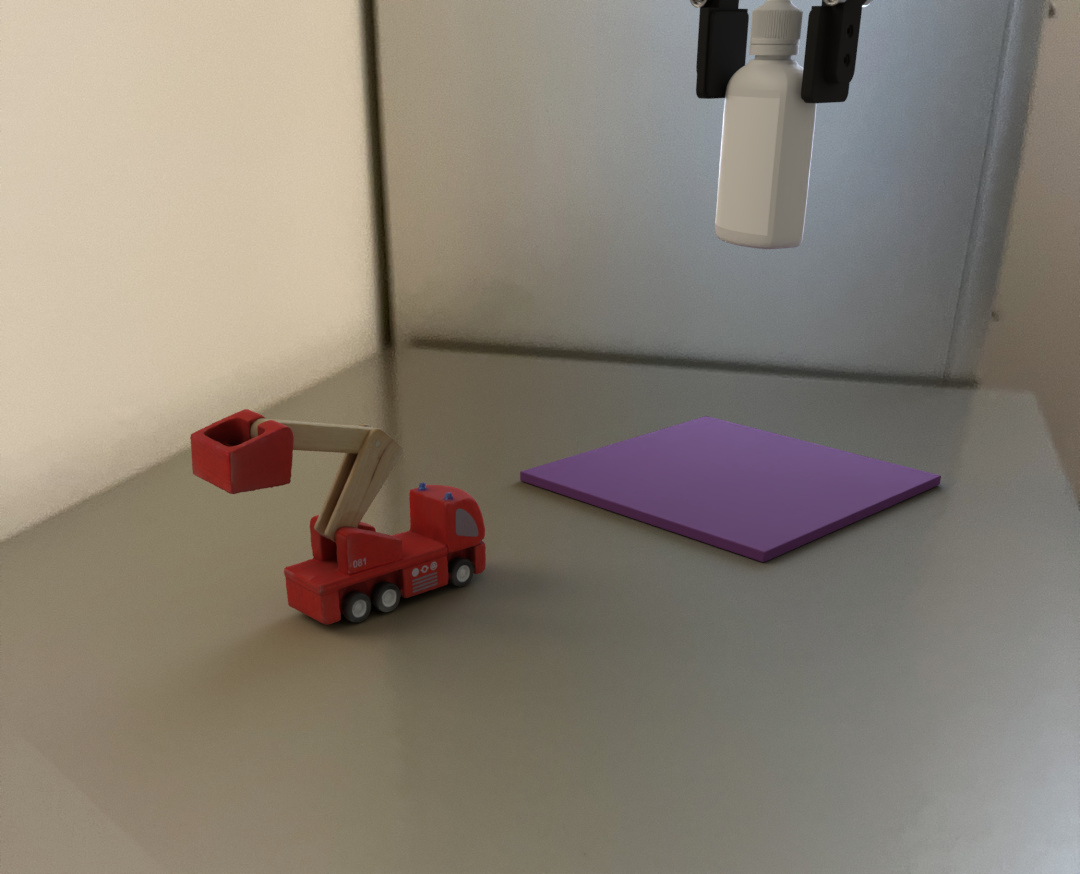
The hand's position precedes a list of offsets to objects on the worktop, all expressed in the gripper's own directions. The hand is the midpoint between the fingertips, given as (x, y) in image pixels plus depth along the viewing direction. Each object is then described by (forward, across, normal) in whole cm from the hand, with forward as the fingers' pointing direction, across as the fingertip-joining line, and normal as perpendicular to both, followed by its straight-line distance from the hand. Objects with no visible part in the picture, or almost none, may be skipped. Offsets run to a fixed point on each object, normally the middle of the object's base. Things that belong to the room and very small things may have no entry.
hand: (770, 95), depth 60 cm
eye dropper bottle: (+7, 0, 0) cm, 7 cm away
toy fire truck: (+21, +3, +25) cm, 33 cm away
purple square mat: (+21, +2, -2) cm, 21 cm away
